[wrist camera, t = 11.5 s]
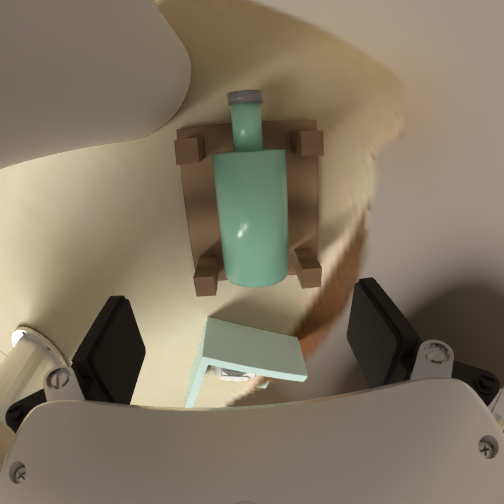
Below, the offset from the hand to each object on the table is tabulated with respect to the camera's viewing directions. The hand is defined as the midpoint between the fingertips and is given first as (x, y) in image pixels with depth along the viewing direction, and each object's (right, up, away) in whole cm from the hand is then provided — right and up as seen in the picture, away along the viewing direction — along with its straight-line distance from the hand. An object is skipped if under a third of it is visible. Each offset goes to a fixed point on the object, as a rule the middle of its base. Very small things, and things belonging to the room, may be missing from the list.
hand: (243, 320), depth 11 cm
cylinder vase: (-12, +20, +11) cm, 25 cm away
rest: (0, +8, +17) cm, 19 cm away
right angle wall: (-1, -12, +26) cm, 29 cm away
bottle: (0, +9, +15) cm, 18 cm away
